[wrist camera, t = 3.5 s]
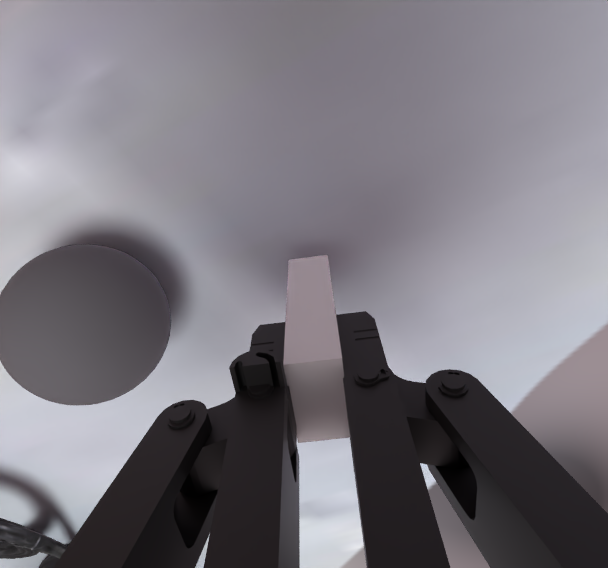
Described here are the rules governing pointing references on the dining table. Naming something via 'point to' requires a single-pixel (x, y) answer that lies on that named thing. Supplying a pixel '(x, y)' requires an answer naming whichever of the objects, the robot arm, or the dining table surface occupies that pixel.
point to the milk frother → (28, 544)
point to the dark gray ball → (82, 324)
